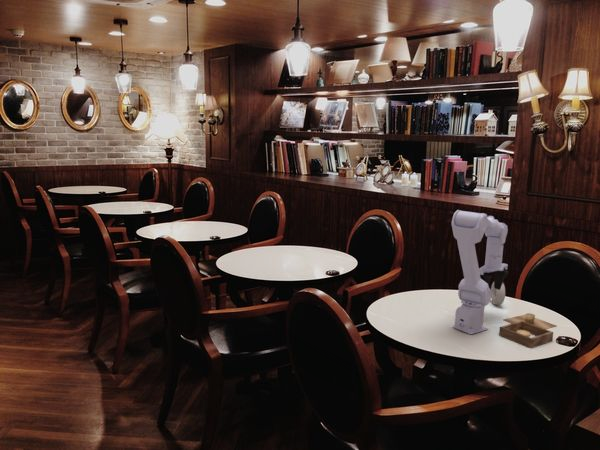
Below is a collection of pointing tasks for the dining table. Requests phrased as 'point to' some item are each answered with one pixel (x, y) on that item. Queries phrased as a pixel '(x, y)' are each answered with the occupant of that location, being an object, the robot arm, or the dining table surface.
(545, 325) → the lid
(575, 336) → the dining table surface
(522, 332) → the biscuit
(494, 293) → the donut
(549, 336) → the box
